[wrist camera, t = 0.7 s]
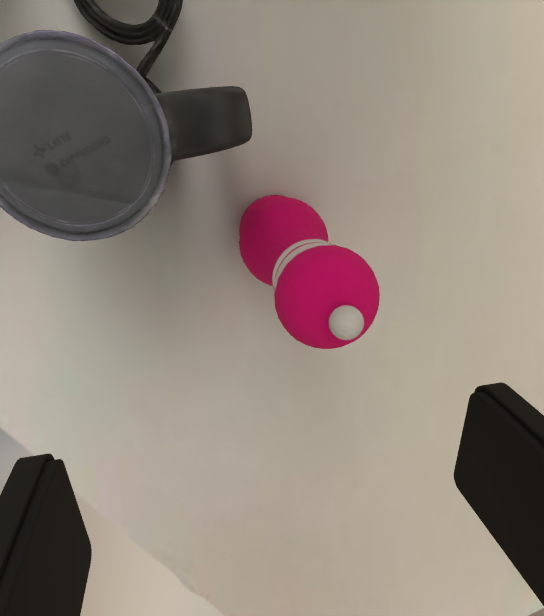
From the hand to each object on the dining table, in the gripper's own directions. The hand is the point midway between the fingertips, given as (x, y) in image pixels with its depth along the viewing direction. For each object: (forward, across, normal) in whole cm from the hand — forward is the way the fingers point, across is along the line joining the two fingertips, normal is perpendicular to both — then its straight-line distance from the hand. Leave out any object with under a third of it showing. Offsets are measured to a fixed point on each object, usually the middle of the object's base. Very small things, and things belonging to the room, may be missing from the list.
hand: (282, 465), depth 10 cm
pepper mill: (+30, -6, +3) cm, 31 cm away
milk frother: (+30, +6, -10) cm, 32 cm away
